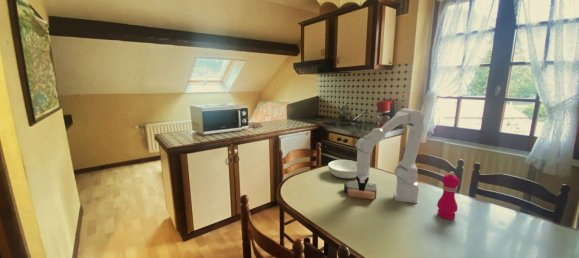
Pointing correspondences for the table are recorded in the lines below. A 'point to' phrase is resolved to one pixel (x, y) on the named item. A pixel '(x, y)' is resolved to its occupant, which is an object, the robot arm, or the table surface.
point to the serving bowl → (343, 168)
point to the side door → (361, 194)
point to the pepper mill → (448, 197)
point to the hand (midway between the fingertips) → (361, 191)
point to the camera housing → (354, 186)
